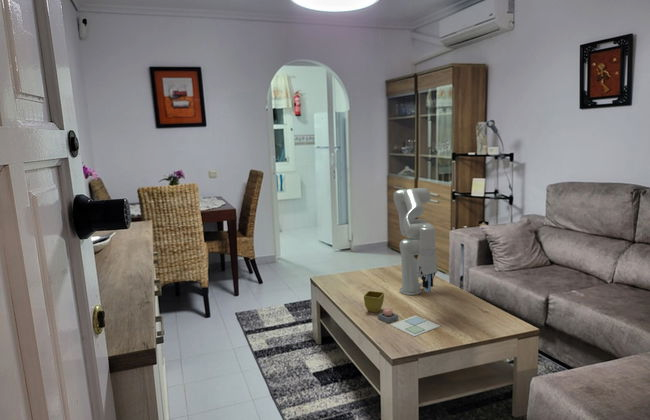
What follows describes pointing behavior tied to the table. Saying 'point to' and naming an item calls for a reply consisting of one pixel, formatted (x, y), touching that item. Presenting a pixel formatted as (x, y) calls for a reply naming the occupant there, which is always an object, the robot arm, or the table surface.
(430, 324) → the sheet
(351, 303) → the table surface
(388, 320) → the button collar
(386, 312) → the button
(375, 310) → the flower pot
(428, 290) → the cylinder
